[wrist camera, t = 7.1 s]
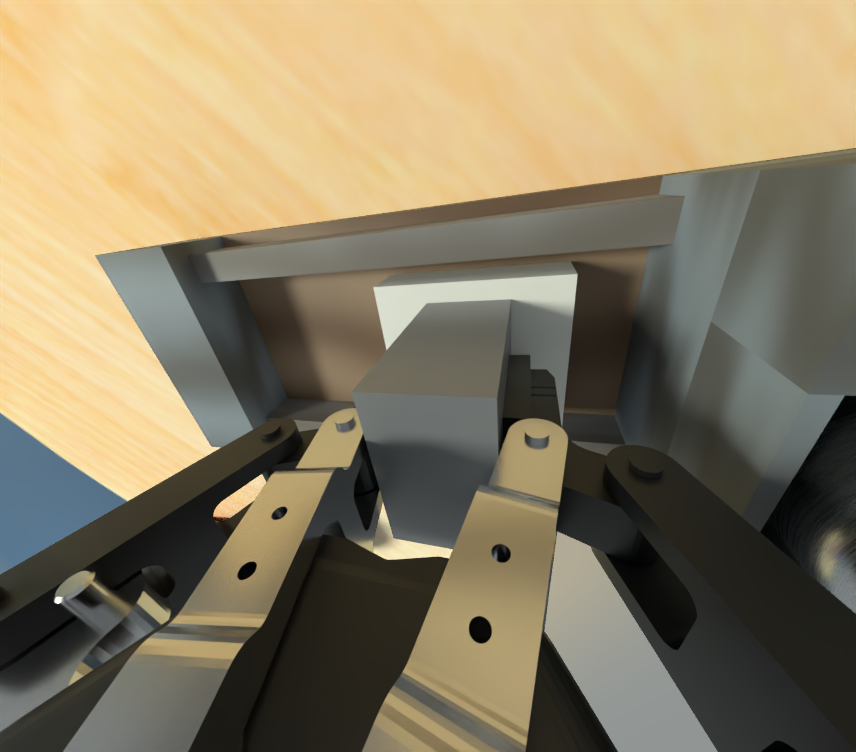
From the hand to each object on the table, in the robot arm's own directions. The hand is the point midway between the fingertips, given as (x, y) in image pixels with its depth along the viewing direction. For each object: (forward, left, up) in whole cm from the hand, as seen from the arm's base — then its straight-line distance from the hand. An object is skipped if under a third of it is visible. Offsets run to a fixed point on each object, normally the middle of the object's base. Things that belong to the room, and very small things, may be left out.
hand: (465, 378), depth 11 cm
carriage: (0, 0, -3) cm, 3 cm away
